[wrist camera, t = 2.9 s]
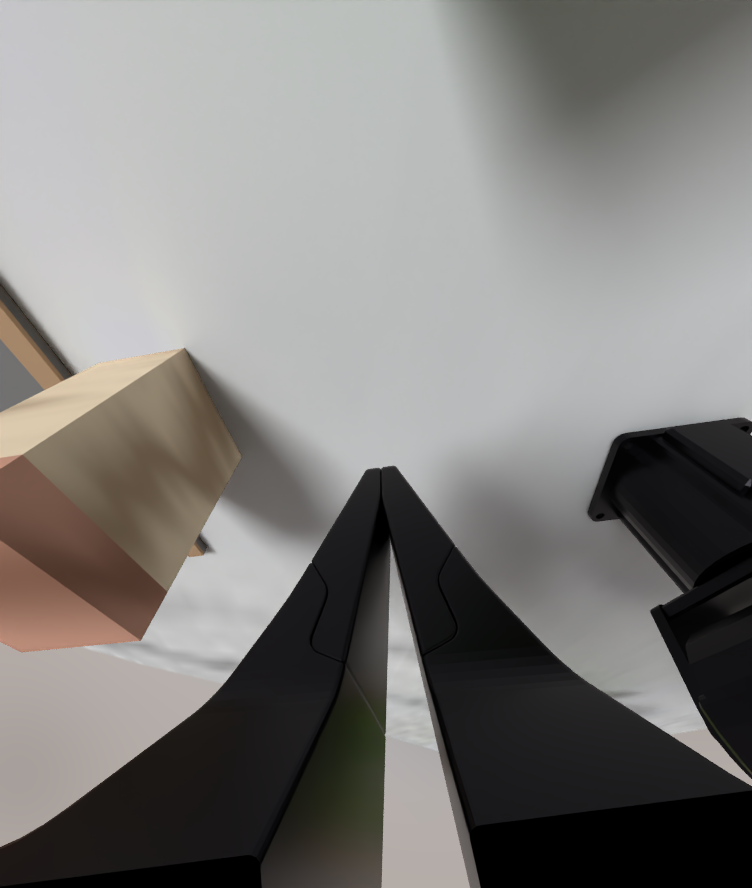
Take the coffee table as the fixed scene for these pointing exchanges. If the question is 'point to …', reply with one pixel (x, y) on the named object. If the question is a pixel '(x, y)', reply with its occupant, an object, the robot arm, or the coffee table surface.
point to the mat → (31, 366)
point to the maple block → (105, 499)
